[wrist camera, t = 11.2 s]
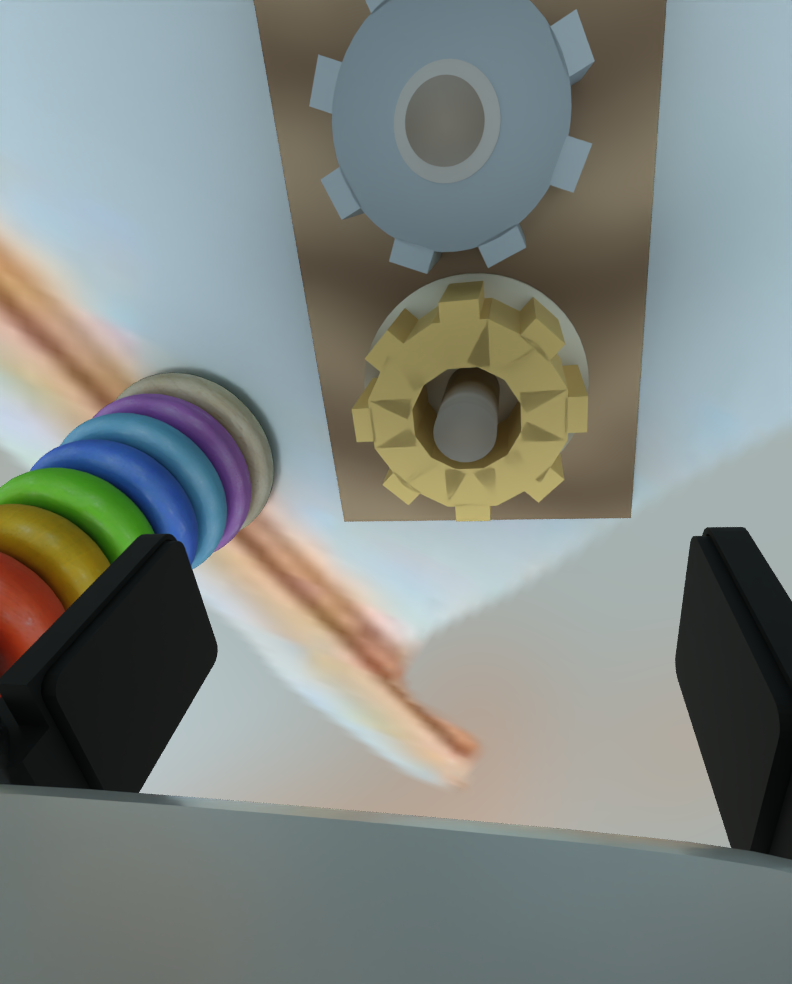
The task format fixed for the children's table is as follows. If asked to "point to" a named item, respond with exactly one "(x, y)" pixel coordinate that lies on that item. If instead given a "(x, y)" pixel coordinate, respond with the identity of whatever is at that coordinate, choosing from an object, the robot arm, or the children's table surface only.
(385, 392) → the ochre gear
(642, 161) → the gear board
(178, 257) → the children's table surface
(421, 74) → the slate gear
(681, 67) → the children's table surface
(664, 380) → the children's table surface
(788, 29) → the children's table surface
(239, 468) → the stacking toy
